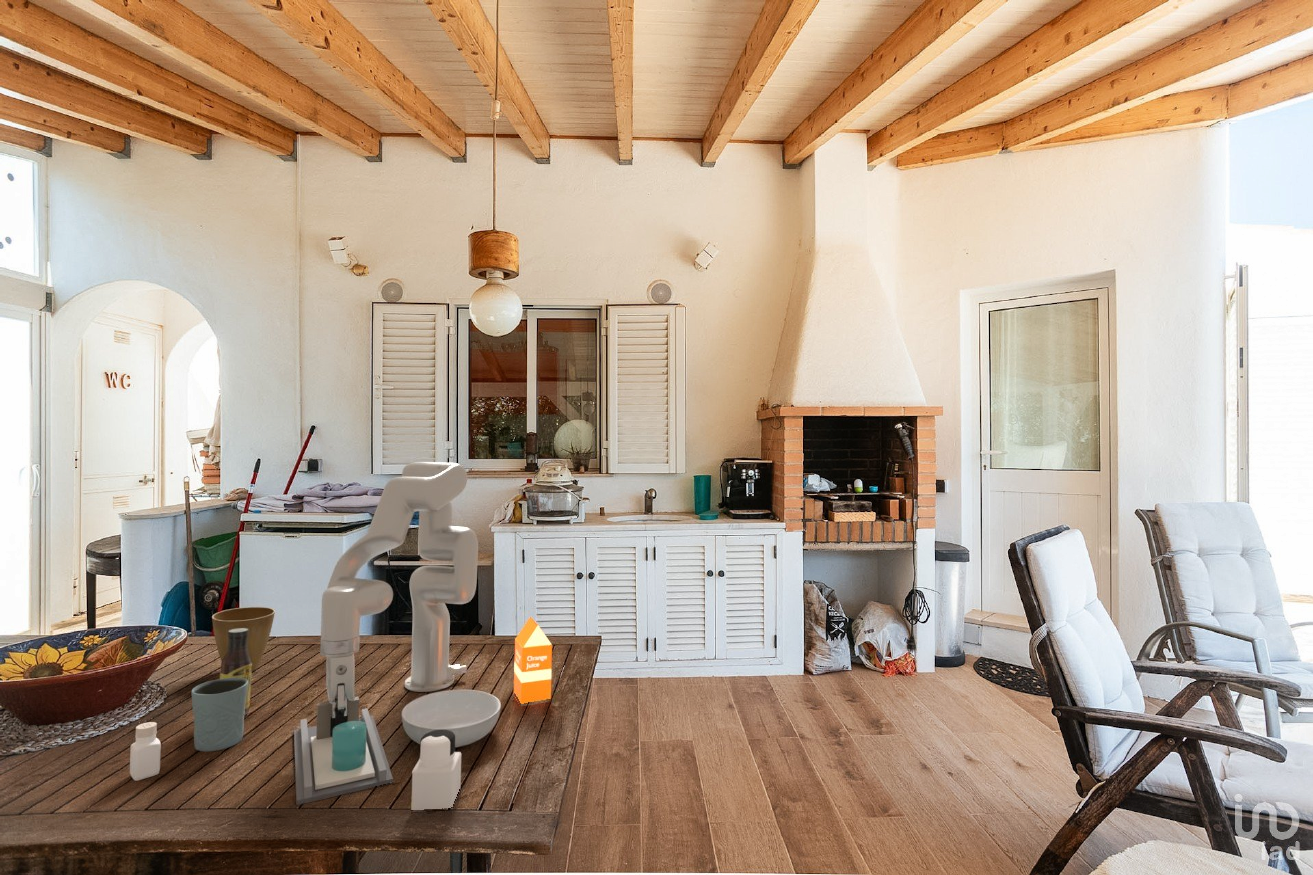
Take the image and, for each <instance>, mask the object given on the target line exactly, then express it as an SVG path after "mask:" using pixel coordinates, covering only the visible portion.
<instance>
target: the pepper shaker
mask: <svg viewBox="0 0 1313 875" xmlns="http://www.w3.org/2000/svg"><path fill="white" fill-rule="evenodd" d="M157 726H158V723H157V722H155V721H149V722H144V723H141V724H138V725H137V726H135V742H133V743H132V744H131V745H130V752H129V753H130V755H129V774H130V776H131V778H132V779H133V780H134V781H135V782H136V781H137V782H138V781H141V780H144V779H149V778H150V777H154V776H157V775H158V774H159V773H160V771H161V770H160V769H161V747H162V744H161V741H160V739H159V738H157V733H158V732H157Z"/></svg>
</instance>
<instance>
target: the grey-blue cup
mask: <svg viewBox="0 0 1313 875" xmlns="http://www.w3.org/2000/svg"><path fill="white" fill-rule="evenodd" d="M247 690H248V680H246V679H243V678H225V679H220V678H218V679H215V680H210V681H206V682H203V683H200V684H198V685H196V686H195V687H193V688H192V689H191V703H192V714H193V727H194V731H193V741H194V742H193V745H194V749H195V750H197V751H200V752H214V751H221V750H225V749H227V748H231V747H233V746H236V745H237V744H239V743H240V742H241V741H242V739H243V737H244V729H245V728H244V727H245V716H246V715H245V703H246V698H247Z"/></svg>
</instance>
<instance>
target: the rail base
mask: <svg viewBox="0 0 1313 875" xmlns="http://www.w3.org/2000/svg"><path fill="white" fill-rule="evenodd" d="M359 721H362V722H365V723H366V724H367V731H366V742H367V746H368V749H369V753H370V757H371V760H372V764H373V768H374V771H375V777H371V778H366V779H362V780H357V781H353V782H348V783H344V784H339V785H335V786H330V787H326V788H321V789H317V790H315V781H314V770H313V759H312V748H311V737H314V736H316V731H317V725H314V726H309V727H308V718H304V719H300V727H299V728H297V729H293V730H294V731H293V743H294V744H293V746H294V770H295V777H294V778H295V797H296V798H295V801H296V802H295V803H296V806H299V805H303V804H307V803H312V802H315V801H321V800H325V799H328V798H329V799H330V798H333V797H337V796H343V795H347V794H350V793H351V794H352V793H354V792H359V791H363V790H368V788H369V789H373V788H376V787H375V786H377V787H381V786H380V785H382V786H384V785H383V784H386V785H388V784H387V783H390V782H393V783H394V778H393V775H392V772H391V768H390V764H389V761H388V759H387V755H386V753H385V750H384V746H383V744H382V740H381V736H380V734H379V730H378V728H377V725H376V722H375V721H376V720H375V718H374V716H373V715H370V712H369V708H367V707H366V708H362V709H361V717H359ZM390 784H391V783H390ZM372 787H373V788H372Z"/></svg>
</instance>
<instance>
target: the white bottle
mask: <svg viewBox="0 0 1313 875" xmlns="http://www.w3.org/2000/svg"><path fill="white" fill-rule="evenodd" d="M419 745H420V746H419V747H420V748H419V759H418V761H417V763H416V764H415V766H414V768H412V771H411V791H410V792H411V795H410V796H411V797H410V798H411V799H410V802H411V803H410V811H411V810H424V809H442V808H443V809H444V808H451V807H454V806H453V804H454V805H455V803H454V801H455V799H456V800H457V798H458V796H457V794H458V792H459V793H460V791H459V789H460V790H461V786H462V785H461V782H462V779H461V776H462V753H461V751H456V747H455V734H454V733H453V732H452V731H449V730H443V729H440V730H434V731H431V732H428V733H426V734H425V735H423V737H422V738H421V740H420V744H419ZM458 795H459V794H458ZM456 797H457V798H456ZM455 802H456V801H455Z"/></svg>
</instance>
